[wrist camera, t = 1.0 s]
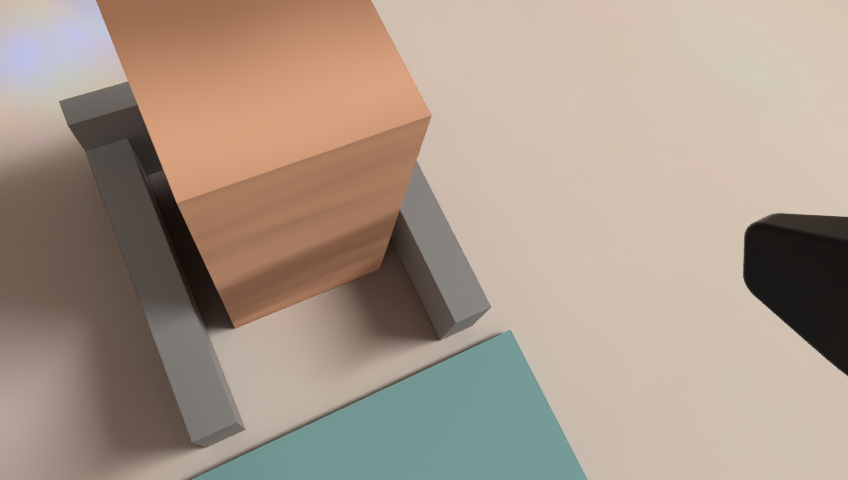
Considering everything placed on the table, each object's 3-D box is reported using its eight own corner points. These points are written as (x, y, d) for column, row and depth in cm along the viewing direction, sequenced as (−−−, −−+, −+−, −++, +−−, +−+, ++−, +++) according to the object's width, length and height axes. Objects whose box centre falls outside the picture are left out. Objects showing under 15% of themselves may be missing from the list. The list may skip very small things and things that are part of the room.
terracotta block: (379, 269, 22) (431, 115, 13) (235, 328, 21) (176, 203, 11) (321, 145, 23) (329, -78, 14) (180, 192, 22) (87, -21, 13)
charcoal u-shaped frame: (471, 325, 22) (505, 293, 18) (205, 447, 19) (181, 439, 16) (352, 86, 24) (360, 15, 21) (101, 166, 22) (59, 101, 18)
